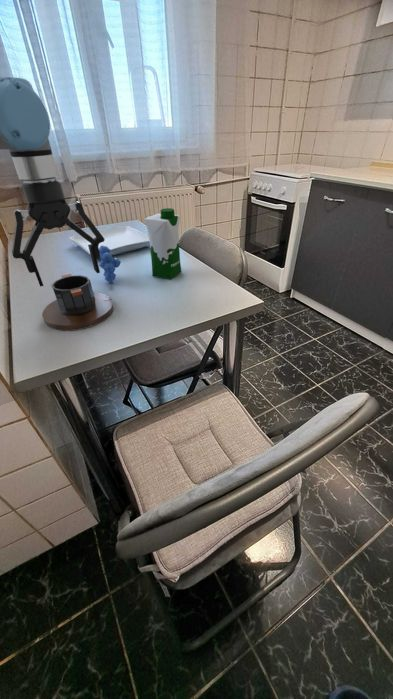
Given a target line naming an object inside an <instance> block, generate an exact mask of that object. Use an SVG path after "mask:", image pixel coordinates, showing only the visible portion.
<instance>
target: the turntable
mask: <svg viewBox="0 0 393 699" xmlns="http://www.w3.org/2000/svg"><path fill="white" fill-rule="evenodd" d="M93 293H94V297H95V303H96V305H95V307H94V308H93V309H91V310H90V311H88V312H85V313H82V314H78V315H67V314H64V313H62V312H61V311H60V308H59V305H58V303H57V300H56V299H55V300H53V301H52V302H50V303H48V304H47V305H46V306H45V307H44V309H43V311H42V313H41V317H42V319H43V322H44V324H45V325H46V326H47V327H49V328H51V329H53V330H58V331H76V330H83V329H87V328H91V327H93V326H96V325H98V324H100V323H102V322H104V321H106V320H107V319H108V318H109V317H110V316H112V314H113V312H114V310H115V305H114V301H113V298H112V297H111V296H109V295H107V294H105V293H101V292H94V291H93Z"/></svg>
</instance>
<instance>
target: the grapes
mask: <svg viewBox="0 0 393 699" xmlns="http://www.w3.org/2000/svg"><path fill="white" fill-rule="evenodd" d="M99 252H100V258H99V259H100V263H99V264H98V266H99V268H101V269H102V270H103V274H102V275H103V276H104V277H105V278H104V280H105V281H106V282H108V283H114V281H115V280H116V276H117V274H116V273H115V271H116V269H117V268H119V267H120V265H121V263H122V261H121V260H120V259H118V258H116V257H114V256H113V255H112V256H111V255H110V254H109V252H110V249H109V248H108V247H106V246H104V245H102V246H101V247H100V248H99Z"/></svg>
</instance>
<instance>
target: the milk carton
mask: <svg viewBox="0 0 393 699" xmlns="http://www.w3.org/2000/svg"><path fill="white" fill-rule="evenodd" d="M180 218H181V216H180V215H179V214H175V209H174V208H169V207H167V208H161V209H160V212H159V213H156V214H153V215H150V216H148V217H145V218H144V219H143V220H144V223H145V226H146V229H147V233H148V234H147V235H149V243H150V245H149V250H150V259H151V260H150V261H151V271H152V272H151V275H152V277H156V278H161V279H166V280H168V281H169V280H172V279H174V278H175V277H176V276H178V275H179V274H181V273H182V265H181V264H182V263H181V253H180V252H181V251H180V238H179V236H180V235H179V227H180V226H179V225H180Z"/></svg>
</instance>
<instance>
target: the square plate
mask: <svg viewBox="0 0 393 699" xmlns="http://www.w3.org/2000/svg"><path fill="white" fill-rule="evenodd" d="M97 230H98V229H97ZM98 231H99V232H100V234H101V235H102V236H103V237H104V242H101V243H99V246H98V248H100V247H101V246H102V245H104V246H106V247H108V248H109V249H110V252H109V254H110V255H111V256H112V257H113V256H116V255H120V254H124V253H129V252H132V251H137V250H139V249H142V248H145V247H148V246H149V247H150V243H149V235H148V234H146V233H145V232H142V231H140V230H138V229H136V228H133V227H131V226H128V225H123V226H117V227H110V228H105V229H99V230H98ZM86 233H87V234H88V235H89V236H91V237H92V238H93V239H94V238H95V237H96V236H95V235H94V234H93V232H92V231H89V232H86ZM68 239H69V240H70V241H72V242H73V243H74V244H76V245H77V246H79V248H81V249H82V250H84V251H85V252H86V253H87V254H88V255H89V256H91V255H90V251H89V247H88V245H90V244H91V243H90V242H88V241H87V240H86V239H85V238H83V237H82V236H81V235H79V234H76V235H72V236H69V237H68Z"/></svg>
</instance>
